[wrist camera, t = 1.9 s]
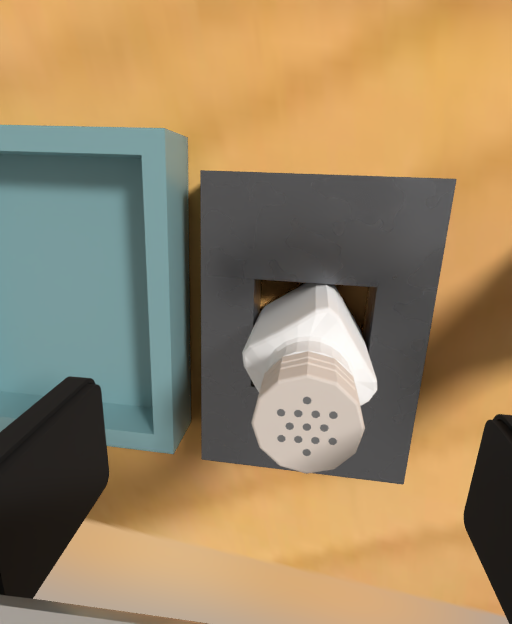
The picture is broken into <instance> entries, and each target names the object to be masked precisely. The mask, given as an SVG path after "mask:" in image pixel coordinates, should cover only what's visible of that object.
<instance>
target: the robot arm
mask: <svg viewBox="0 0 512 624" xmlns="http://www.w3.org/2000/svg"><path fill="white" fill-rule="evenodd" d="M108 478H109V466H108V455H107V445H106V434H105V424H104V413H103V403H102V392H101V387H100V386H99V385H98V384H95V382H94V380H93V379H92V378H84V377H72V376H69V377H67V378H65V379H64V380H63V381H62V382H60V383H59V384H58V385H57V386H56V387H54V388H53V389H52V390H51V391H50V392H48V393H47V394H46V395H45V396H43V397H42V398H41V399H40V400H39V401H37V402H36V403H35V404H34V405H32V406H31V407H30V408H29V409H28V410H26V411H25V412H24V413H23V414H22V415H20V416H19V417H18V418H17V419H15V420H14V421H13V422H12V423H11V424H9V425H8V426H7V427H6V428H5V429H3V430H2V431H1V432H0V624H207V623H201V622H194V621H187V620H180V619H173V618H166V617H159V616H152V615H145V614H138V613H130V612H123V611H116V610H108V609H102V608H95V607H87V606H80V605H73V604H66V603H59V602H52V601H45V600H37V599H33V597H34V596H35V594H36V593H37V591H38V590H39V588H40V587H41V585H42V584H43V582H44V581H45V579H46V577H47V576H48V574H49V573H50V571H51V570H52V568H53V566H54V565H55V564H56V562H57V561H58V559H59V557H60V556H61V555H62V553H63V551H64V550H65V548H66V547H67V545H68V544H69V542H70V541H71V539H72V538H73V536H74V534H75V533H76V532H77V530H78V528H79V527H80V525H81V524H82V522H83V521H84V519H85V518H86V516H87V515H88V513H89V512H90V510H91V509H92V507H93V506H94V504H95V502H96V501H97V499H98V498H99V496H100V495H101V493H102V492H103V490H104V489H105V487H106V485H107V482H108ZM464 524H465V528H466V531H467V533H468V535H469V537H470V539H471V542H472V544H473V546H474V548H475V550H476V552H477V555H478V557H479V559H480V561H481V563H482V565H483V568H484V570H485V572H486V574H487V576H488V578H489V581H490V583H491V585H492V587H493V589H494V591H495V594H496V596H497V598H498V600H499V602H500V604H501V607H502V609H503V611H504V613H505V615H506V617H507V620H508V622H509V624H512V415H502V414H498V415H496V416H495V417H494V419H493V420H488V421H487V422H486V424H485V428H484V432H483V436H482V440H481V444H480V448H479V452H478V456H477V460H476V465H475V469H474V473H473V477H472V481H471V485H470V489H469V493H468V497H467V502H466V506H465V510H464Z"/></svg>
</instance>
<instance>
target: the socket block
mask: <svg viewBox="0 0 512 624" xmlns="http://www.w3.org/2000/svg"><path fill="white" fill-rule="evenodd" d="M455 184H456V179H441V178H411V177H381V176H351V175H322V174H292V173H262V172H232V171H202V170H201V414H202V459H203V460H211V461H219V462H227V463H235V464H243V465H251V466H259V467H267V468H275V469H283V470H291V471H296V470H293V469H289V468H286V467H282V466H279V465H278V464H277V463H276V462H275V461H274V460H273V459H272V458H271V457H270V456H268V455H267V454H266V453H265V452H264V451H263V450H262V449H261V448H260V447H259V445H258V442H257V439H256V436H255V433H254V430H253V427H252V424H251V421H252V418H253V414H254V410H255V406H256V403H257V399H258V395H259V392H258V390H257V389H256V387H255V385H254V384H253V382H252V380H251V378H250V376H249V375H248V373H247V371H246V369H245V367H244V364H243V355H242V352H243V349H244V347H245V345H246V343H247V340H248V338H249V336H250V334H251V332H252V329H253V327H254V325H255V323H256V320H257V318H258V316H259V314H260V301H261V280H274V281H290V282H305V283H320V284H335V285H350V286H365V287H368V293H367V302H366V310H365V318H364V326H363V334H362V335H363V338H364V341H365V344H366V347H367V351H368V354H369V357H370V360H371V363H372V366H373V369H374V372H375V376H376V379H377V391H376V392H375V394H374V395H373V396H372V398H371V399H370V400H369V401H368V402H367V403H365V404H363V405H361V406H360V407H361V411H362V416H363V421H364V426H365V430H364V432H363V435H362V438H361V440H360V443H359V446H358V448H357V451H356V453H355V454H354V455H352V456H351V457H350V458H348V459H347V460H346V461H344V462H343V463H342V464H340V465H339V466H338V467H336V468H335V469H333V470H326V471H320V472H314V473H316V474H324V475H332V476H340V477H348V478H356V479H364V480H372V481H380V482H388V483H396V484H404V478H405V473H406V467H407V461H408V455H409V450H410V444H411V438H412V432H413V427H414V421H415V415H416V409H417V403H418V398H419V392H420V386H421V380H422V375H423V369H424V363H425V357H426V352H427V346H428V340H429V334H430V329H431V323H432V317H433V311H434V305H435V300H436V294H437V288H438V282H439V277H440V271H441V265H442V259H443V254H444V248H445V242H446V236H447V231H448V225H449V219H450V213H451V207H452V202H453V196H454V190H455Z"/></svg>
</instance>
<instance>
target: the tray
mask: <svg viewBox="0 0 512 624" xmlns="http://www.w3.org/2000/svg"><path fill="white" fill-rule="evenodd" d="M69 376H72V377H84V378H92V379H93V380H94V382H95V384H98V385H99V386H100V387H101V392H102V403H103V413H104V424H105V434H106V445H107V446H112V447H120V448H128V449H136V450H144V451H152V452H161V453H169V454H174V453H175V451H176V449H177V447H178V445H179V443H180V442H181V440H182V438H183V436H184V434H185V432H186V430H187V428H188V427H189V425H190V423H191V367H190V287H189V207H188V137H185V136H183V135H180V134H178V133H175V132H173V131H170V130H168V129H165V128H126V127H78V126H29V125H0V432H1V431H2V430H3V429H5V428H6V427H7V426H8V425H9V424H11V423H12V422H13V421H14V420H15V419H17V418H18V417H19V416H20V415H22V414H23V413H24V412H25V411H26V410H28V409H29V408H30V407H31V406H32V405H34V404H35V403H36V402H37V401H39V400H40V399H41V398H42V397H43V396H45V395H46V394H47V393H48V392H50V391H51V390H52V389H53V388H54V387H56V386H57V385H58V384H59V383H60V382H62V381H63V380H64V379H65V378H67V377H69Z"/></svg>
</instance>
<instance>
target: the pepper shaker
mask: <svg viewBox="0 0 512 624" xmlns="http://www.w3.org/2000/svg"><path fill="white" fill-rule="evenodd" d="M242 355H243V364H244V367H245V369H246V371H247V373H248V375H249V376H250V378H251V380H252V382H253V384H254V385H255V387H256V389H257V390H258V392H259V395H258V399H257V403H256V406H255V410H254V414H253V418H252V421H251V424H252V427H253V430H254V433H255V436H256V439H257V442H258V445H259V447H260V448H261V449H262V450H263V451H264V452H265V453H266V454H267V455H268V456H270V457H271V458H272V459H273V460H274V461H275V462H276V463H277V464H278V465H279V466H282V467H286V468H289V469H293V470H296V471H299V472H303V473H306V474H307V473H314V472H320V471H326V470H333V469H335V468H336V467H338V466H339V465H340V464H342V463H343V462H344V461H346V460H347V459H348V458H350V457H351V456H352V455H354V454H355V453H356V451H357V448H358V446H359V443H360V440H361V438H362V435H363V432H364V430H365V426H364V421H363V416H362V411H361V407H360V406H361V405H363V404H365V403H367V402H368V401H369V400H370V399H371V398H372V396H373V395H374V394H375V392H376V391H377V379H376V376H375V372H374V369H373V366H372V363H371V360H370V357H369V354H368V351H367V347H366V344H365V341H364V338H363V335H362V332H361V330H360V328H359V326H358V325H357V323H356V321H355V319H354V318H353V316H352V314H351V312H350V311H349V309H348V307H347V305H346V304H345V302H344V300H343V298H342V297H341V295H340V293H339V291H338V290H337V288H336V286H335V285H334V284H320V283H305V284H303V285H301V286H300V287H298V288H296V289H294V290H292V291H291V292H289V293H287V294H285V295H283V296H282V297H280V298H278V299H276V300H274V301H273V302H271V303H269V304H267V305H266V306H265V307H264V308H263V309H262V311H261V312H260V314H259V316H258V318H257V320H256V323H255V325H254V327H253V329H252V332H251V334H250V336H249V338H248V340H247V343H246V345H245V347H244V349H243V352H242Z"/></svg>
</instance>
